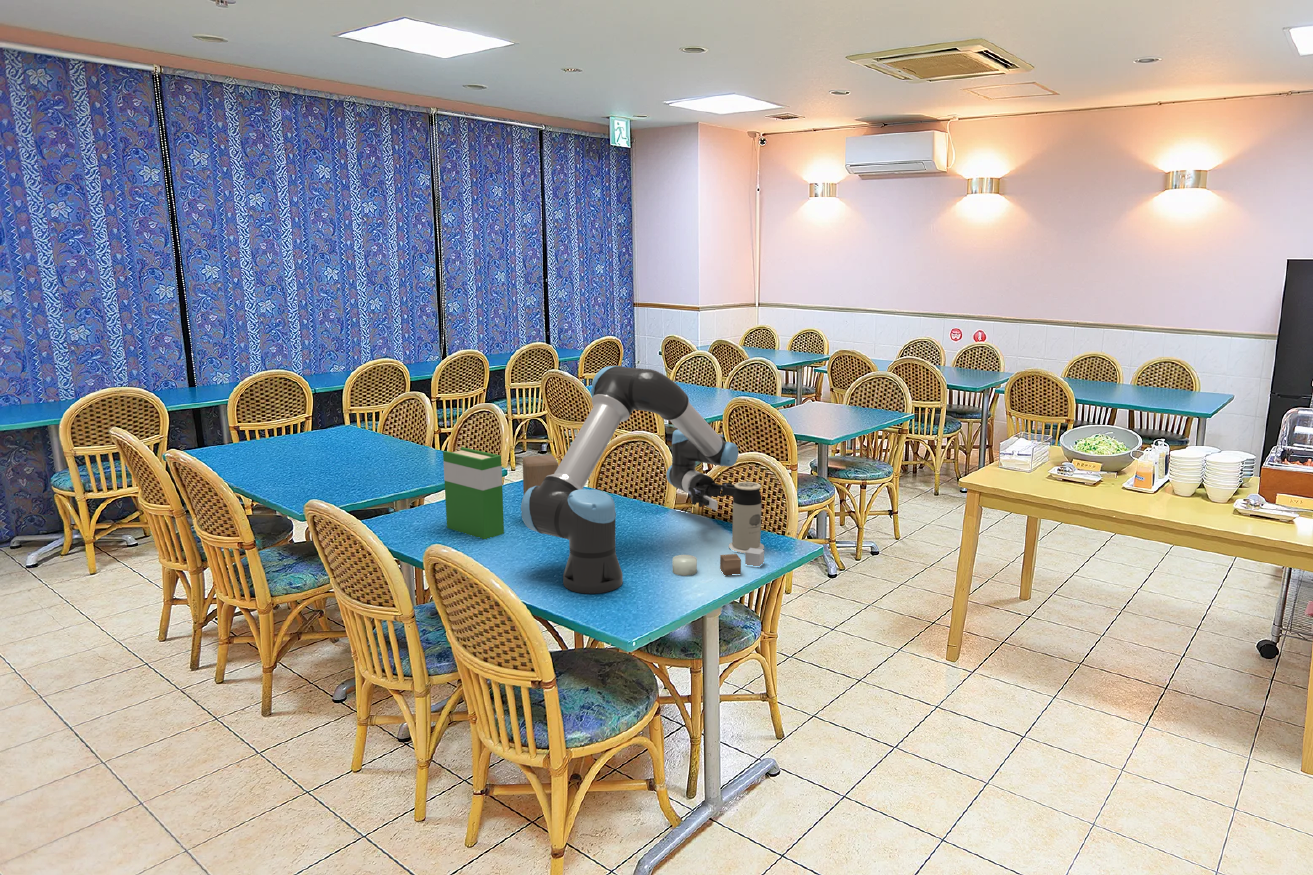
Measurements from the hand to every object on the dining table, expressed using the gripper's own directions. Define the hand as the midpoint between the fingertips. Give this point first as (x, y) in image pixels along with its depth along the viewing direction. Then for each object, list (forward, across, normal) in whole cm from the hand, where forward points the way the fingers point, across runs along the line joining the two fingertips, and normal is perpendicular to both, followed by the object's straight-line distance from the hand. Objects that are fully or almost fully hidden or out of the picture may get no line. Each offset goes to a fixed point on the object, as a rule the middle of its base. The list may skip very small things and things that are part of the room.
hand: (736, 502), depth 249 cm
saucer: (+6, 0, -12) cm, 13 cm away
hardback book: (-45, +64, -12) cm, 80 cm away
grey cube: (+18, +6, -12) cm, 22 cm away
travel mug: (+6, 0, -11) cm, 13 cm away
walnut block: (+20, +15, -12) cm, 28 cm away
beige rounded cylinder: (+14, +25, -12) cm, 31 cm away
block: (-45, +43, -12) cm, 64 cm away
